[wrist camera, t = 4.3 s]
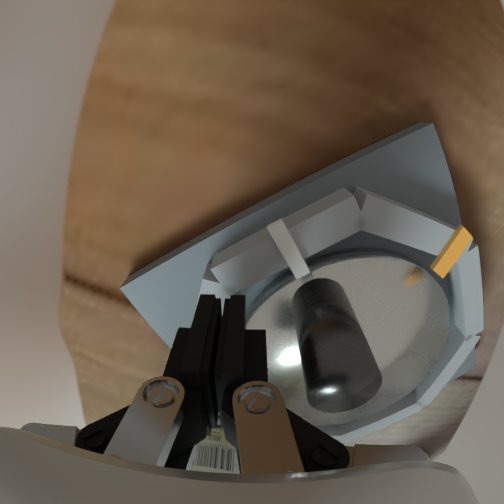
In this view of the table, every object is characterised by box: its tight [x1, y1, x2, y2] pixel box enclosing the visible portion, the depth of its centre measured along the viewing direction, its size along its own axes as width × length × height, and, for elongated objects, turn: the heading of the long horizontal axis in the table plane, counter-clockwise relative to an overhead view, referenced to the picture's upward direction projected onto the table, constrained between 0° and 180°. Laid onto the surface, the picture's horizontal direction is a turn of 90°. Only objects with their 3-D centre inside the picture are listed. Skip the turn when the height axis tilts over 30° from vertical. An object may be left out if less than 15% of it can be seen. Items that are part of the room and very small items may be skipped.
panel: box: [120, 122, 484, 444], centre depth 15 cm, size 18×17×3 cm
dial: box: [246, 248, 451, 426], centre depth 13 cm, size 12×12×6 cm
